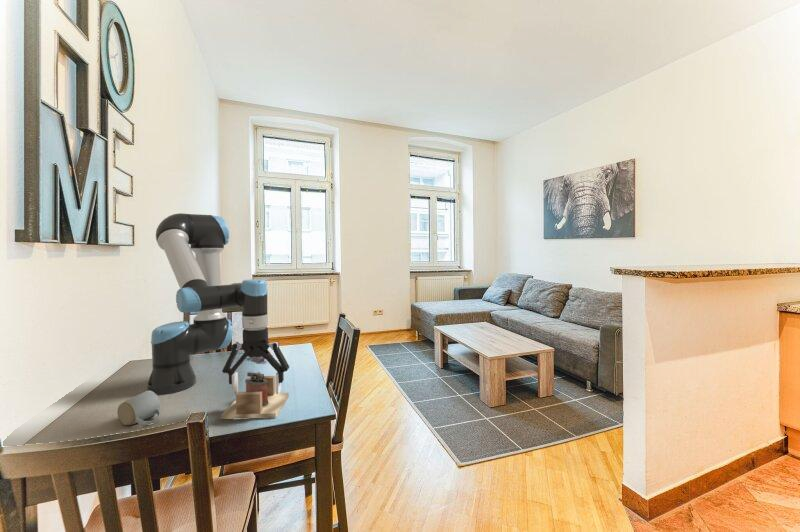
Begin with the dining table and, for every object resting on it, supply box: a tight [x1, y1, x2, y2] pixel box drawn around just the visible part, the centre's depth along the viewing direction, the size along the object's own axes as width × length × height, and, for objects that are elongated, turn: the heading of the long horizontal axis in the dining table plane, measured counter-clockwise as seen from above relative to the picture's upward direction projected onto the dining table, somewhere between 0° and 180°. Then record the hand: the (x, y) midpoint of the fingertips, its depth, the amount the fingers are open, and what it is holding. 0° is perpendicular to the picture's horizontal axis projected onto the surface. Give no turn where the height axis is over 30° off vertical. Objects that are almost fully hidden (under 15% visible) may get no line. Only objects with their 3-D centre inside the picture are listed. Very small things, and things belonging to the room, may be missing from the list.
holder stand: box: [220, 375, 290, 420], centre depth 111 cm, size 16×15×8 cm
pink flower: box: [247, 352, 275, 361], centre depth 159 cm, size 6×6×15 cm
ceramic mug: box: [116, 390, 162, 426], centre depth 102 cm, size 11×8×8 cm
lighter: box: [244, 371, 268, 406], centre depth 111 cm, size 8×3×10 cm, turn 71°
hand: (256, 393), depth 111 cm, fingers open, 13 cm apart
